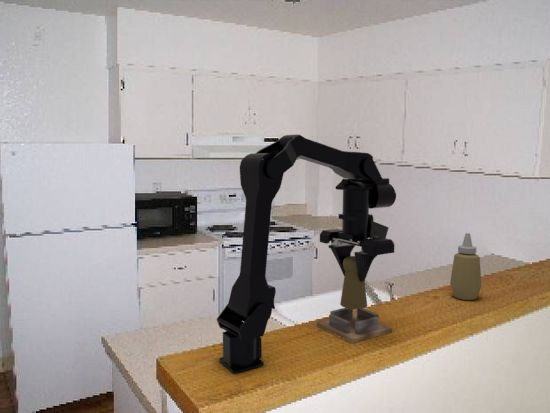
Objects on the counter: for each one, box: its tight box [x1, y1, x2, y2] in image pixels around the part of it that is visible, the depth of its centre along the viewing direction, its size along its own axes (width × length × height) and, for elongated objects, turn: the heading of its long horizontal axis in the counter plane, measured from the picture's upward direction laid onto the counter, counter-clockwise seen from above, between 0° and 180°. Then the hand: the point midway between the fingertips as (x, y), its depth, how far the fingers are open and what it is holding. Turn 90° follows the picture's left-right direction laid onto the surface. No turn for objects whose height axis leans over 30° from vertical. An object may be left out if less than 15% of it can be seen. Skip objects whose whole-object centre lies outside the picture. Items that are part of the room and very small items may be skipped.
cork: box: [339, 255, 368, 310], centre depth 104 cm, size 6×6×11 cm
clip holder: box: [316, 307, 393, 344], centre depth 105 cm, size 12×12×3 cm
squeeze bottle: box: [449, 232, 483, 301], centre depth 127 cm, size 8×8×18 cm
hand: (354, 278), depth 104 cm, fingers closed on cork, 5 cm apart
